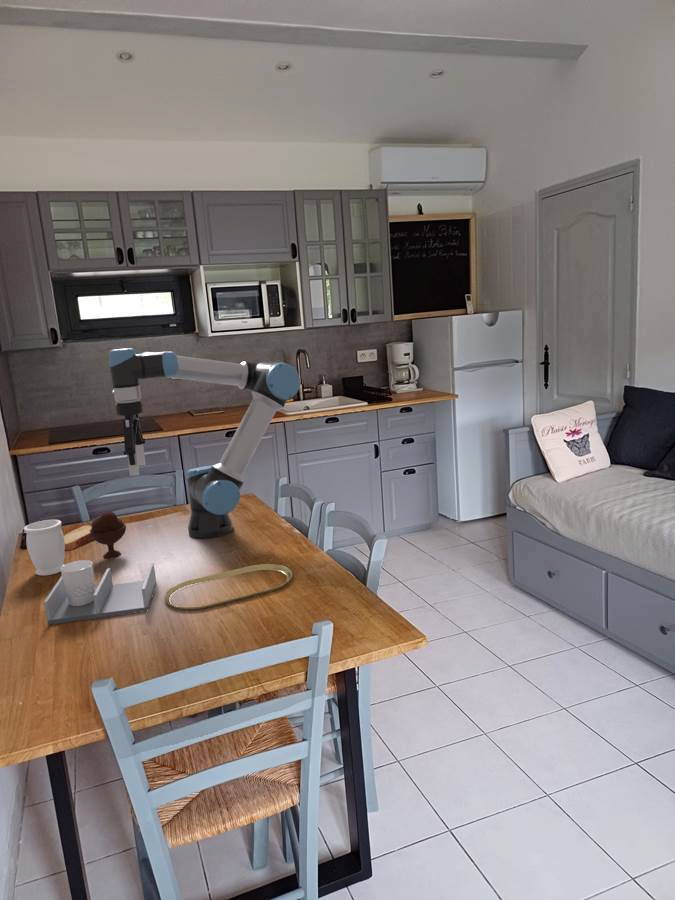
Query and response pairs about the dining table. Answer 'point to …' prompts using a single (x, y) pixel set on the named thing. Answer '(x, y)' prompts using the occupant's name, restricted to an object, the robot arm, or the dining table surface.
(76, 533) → the slice of bread
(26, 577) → the dining table surface
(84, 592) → the white cup
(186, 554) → the dining table surface
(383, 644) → the dining table surface
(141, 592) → the dish rack
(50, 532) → the jar
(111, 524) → the ice cream bowl
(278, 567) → the brass oval ring
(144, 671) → the dining table surface
